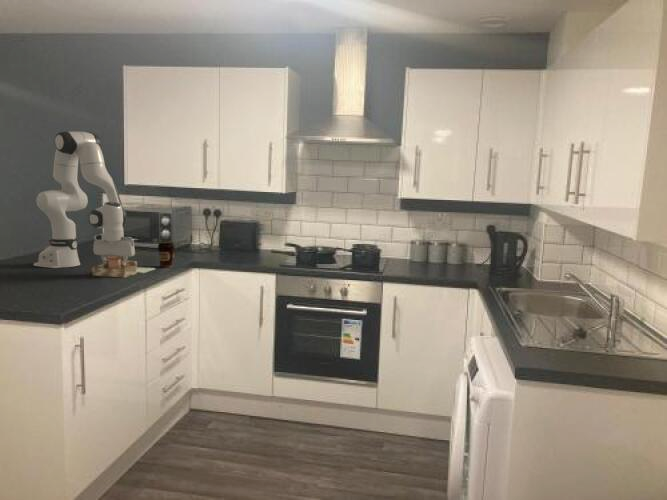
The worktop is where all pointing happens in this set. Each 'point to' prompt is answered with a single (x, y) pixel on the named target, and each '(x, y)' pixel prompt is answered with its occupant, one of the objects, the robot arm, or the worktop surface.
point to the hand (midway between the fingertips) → (114, 264)
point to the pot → (114, 262)
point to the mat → (143, 269)
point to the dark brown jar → (166, 254)
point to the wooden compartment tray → (116, 270)
